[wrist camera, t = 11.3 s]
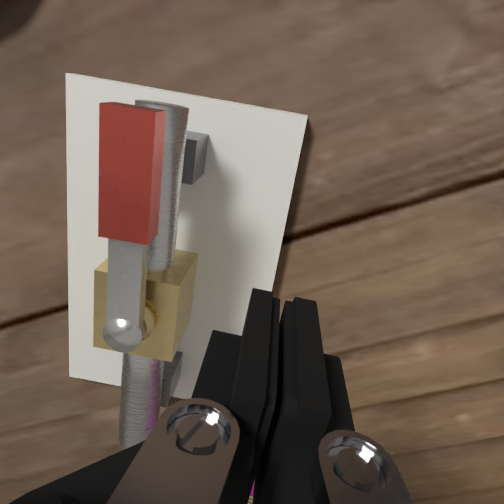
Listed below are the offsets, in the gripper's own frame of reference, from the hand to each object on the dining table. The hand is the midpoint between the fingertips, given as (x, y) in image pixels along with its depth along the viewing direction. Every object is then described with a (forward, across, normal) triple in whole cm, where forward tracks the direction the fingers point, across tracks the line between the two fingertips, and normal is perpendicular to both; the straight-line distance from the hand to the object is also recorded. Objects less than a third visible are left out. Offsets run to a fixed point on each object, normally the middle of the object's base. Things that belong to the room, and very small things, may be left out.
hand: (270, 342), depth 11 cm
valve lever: (+13, +8, +3) cm, 16 cm away
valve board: (+24, +8, +10) cm, 27 cm away
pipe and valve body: (+22, +8, +10) cm, 25 cm away
